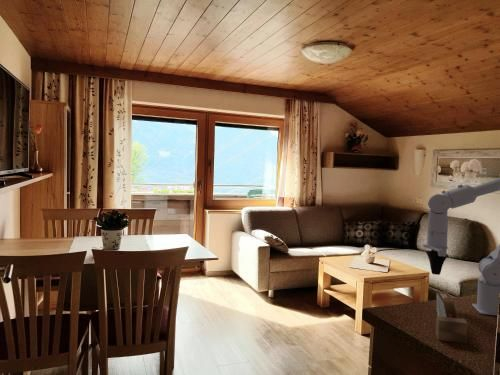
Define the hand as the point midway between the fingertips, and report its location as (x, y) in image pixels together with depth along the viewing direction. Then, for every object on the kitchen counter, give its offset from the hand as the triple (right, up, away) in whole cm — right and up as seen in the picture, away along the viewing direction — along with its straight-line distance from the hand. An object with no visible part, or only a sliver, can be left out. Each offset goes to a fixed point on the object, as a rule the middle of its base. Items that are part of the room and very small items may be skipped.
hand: (435, 274), depth 120 cm
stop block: (-9, -10, -26) cm, 29 cm away
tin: (-6, -10, -17) cm, 21 cm away
